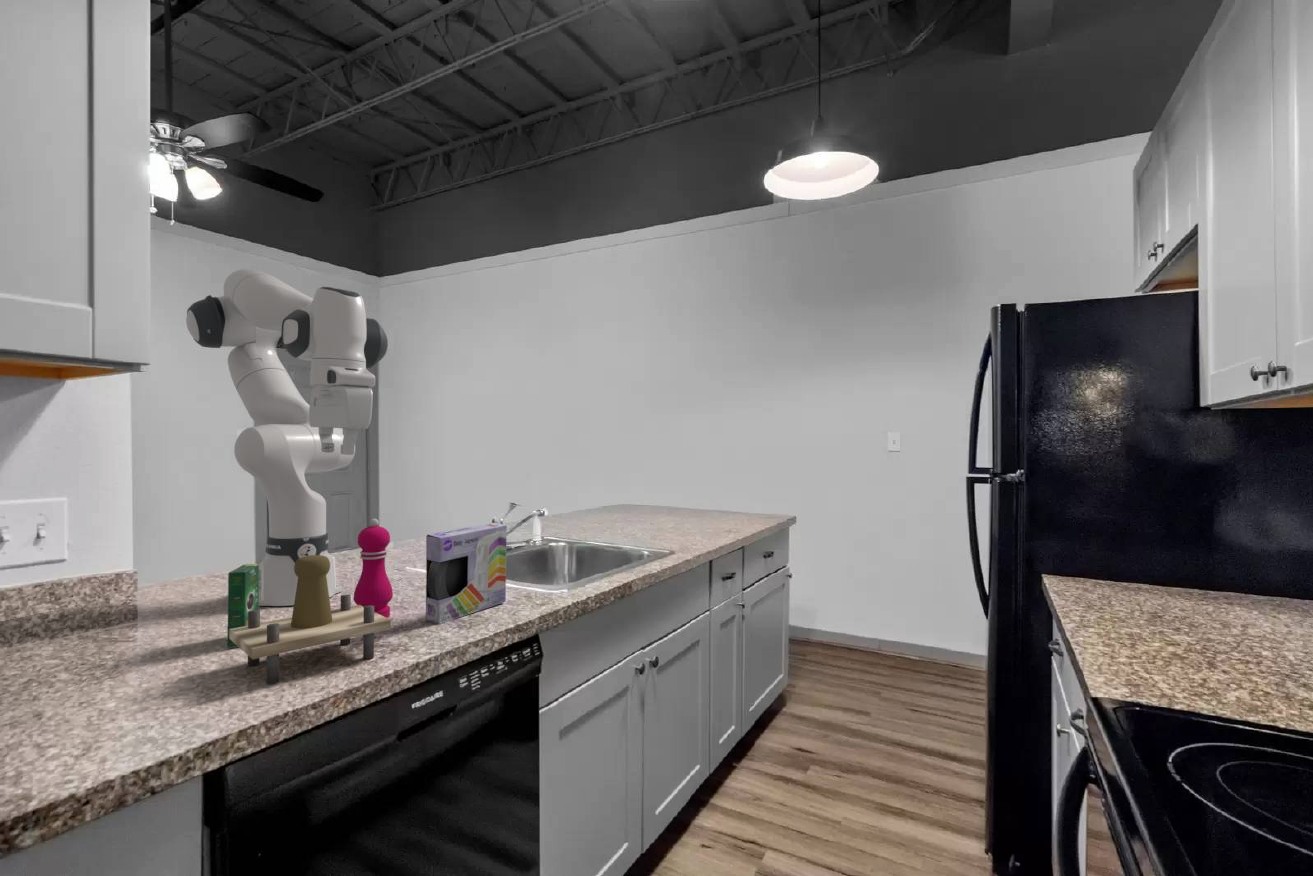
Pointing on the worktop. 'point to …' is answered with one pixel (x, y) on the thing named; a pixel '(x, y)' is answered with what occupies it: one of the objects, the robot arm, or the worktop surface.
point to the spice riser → (306, 634)
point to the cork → (311, 593)
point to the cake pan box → (465, 571)
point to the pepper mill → (374, 570)
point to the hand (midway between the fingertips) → (337, 453)
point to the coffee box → (242, 596)
